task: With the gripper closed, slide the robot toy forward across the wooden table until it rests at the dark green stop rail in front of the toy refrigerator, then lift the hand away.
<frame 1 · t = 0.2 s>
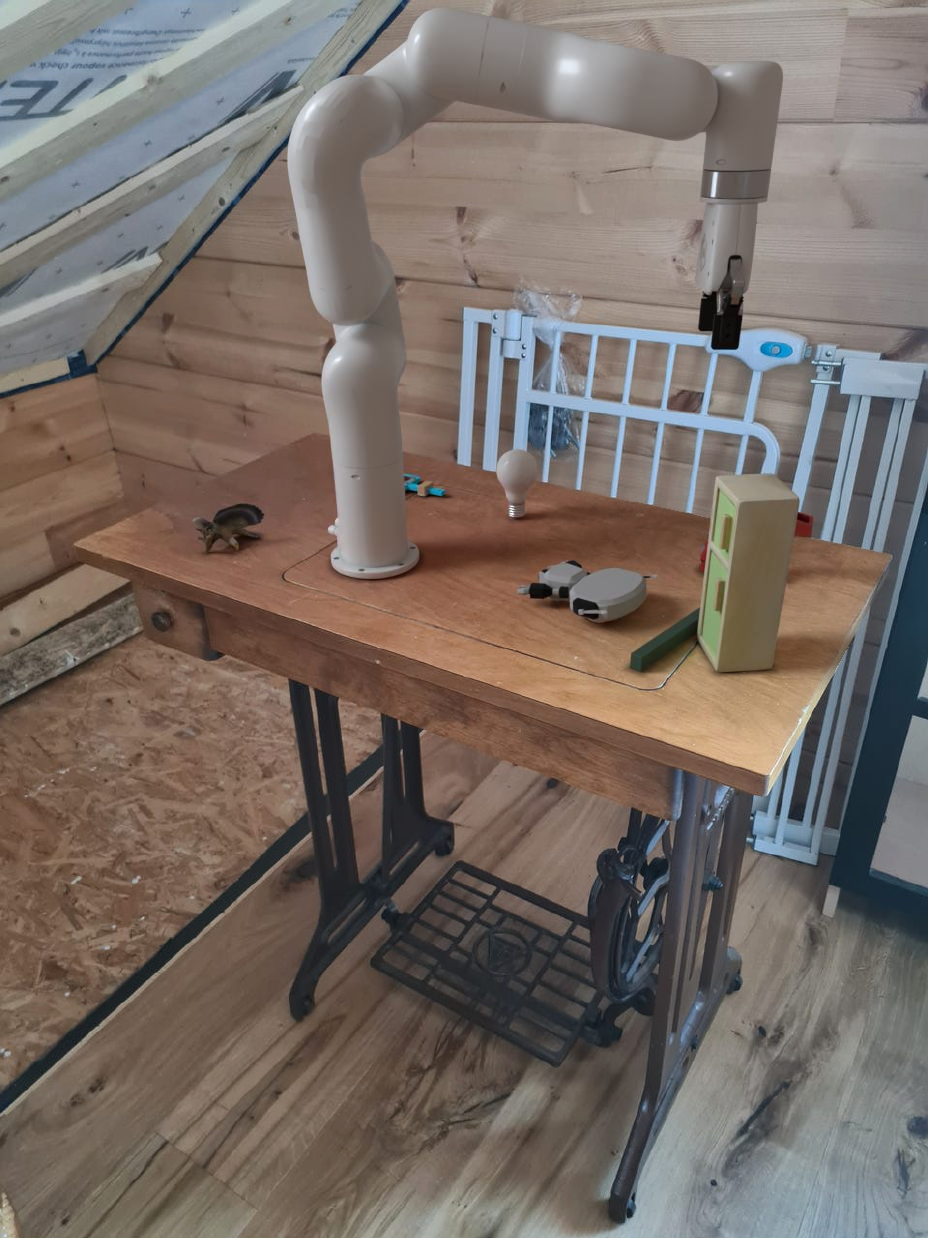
hand: (717, 339, 113), 31 cm above the table, tool pointing down, fingers open, 9 cm apart
toy refrigerator: (729, 655, 108), on the table
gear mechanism: (390, 489, 156), on the table
brown animal figure: (232, 546, 137), on the table
stop rail: (673, 643, 110), on the table
robot toy: (585, 606, 119), on the table
toy fire truck: (749, 577, 125), on the table
lightbulb: (516, 518, 144), on the table
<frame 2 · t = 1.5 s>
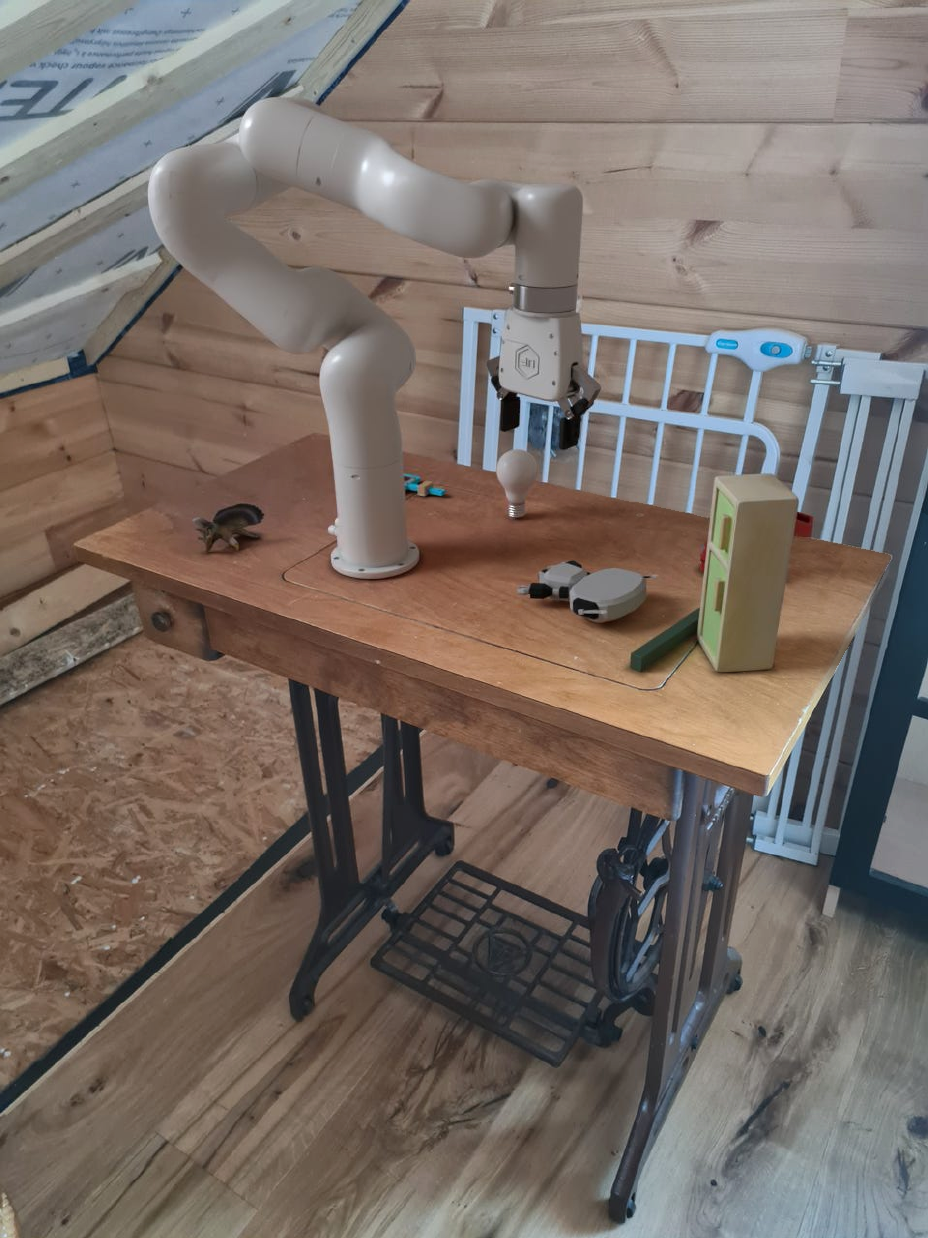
hand: (538, 437, 117), 20 cm above the table, tool pointing down, fingers open, 9 cm apart
nothing on the table moved.
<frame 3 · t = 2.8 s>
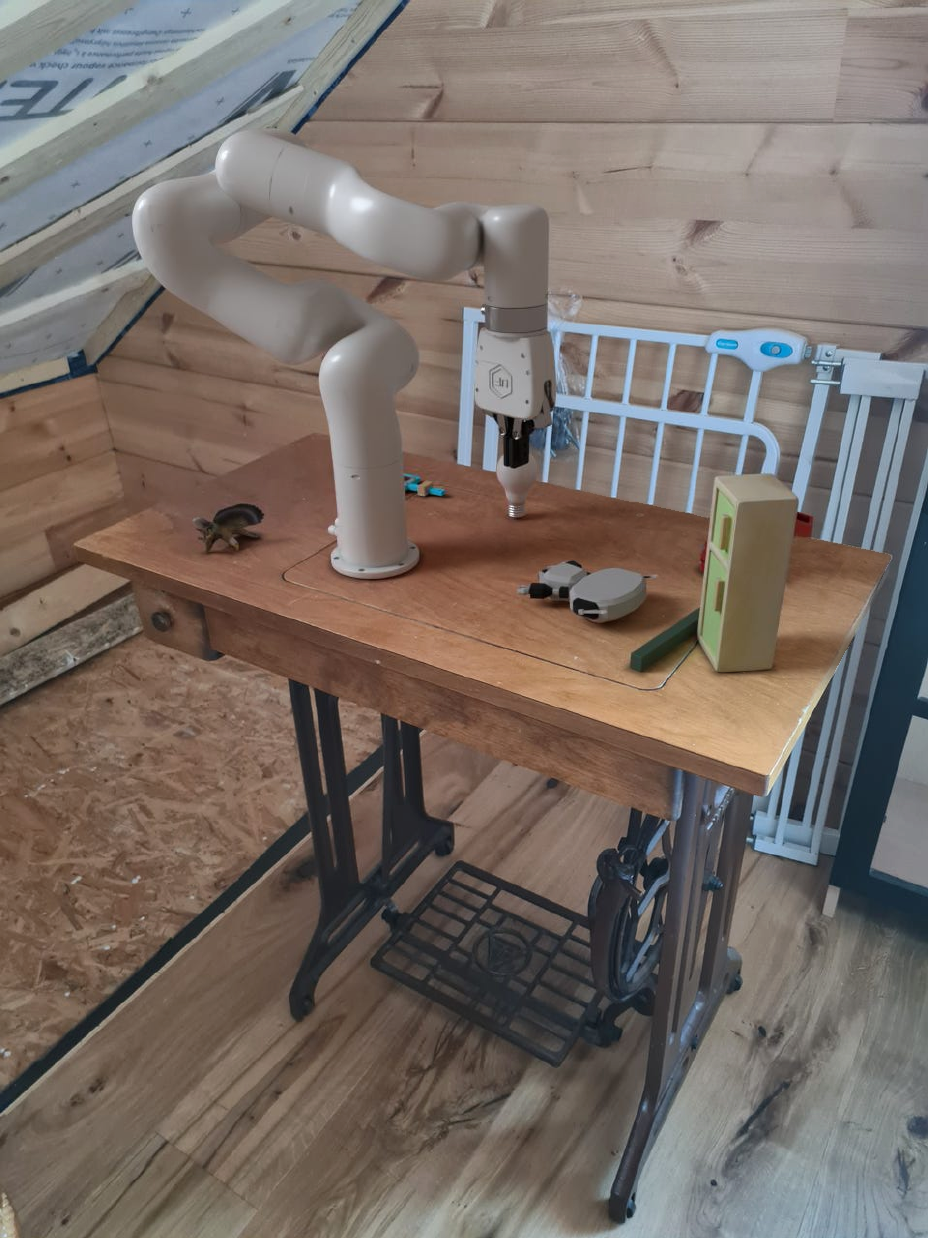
hand: (516, 464, 119), 16 cm above the table, tool pointing down, fingers closed
nothing on the table moved.
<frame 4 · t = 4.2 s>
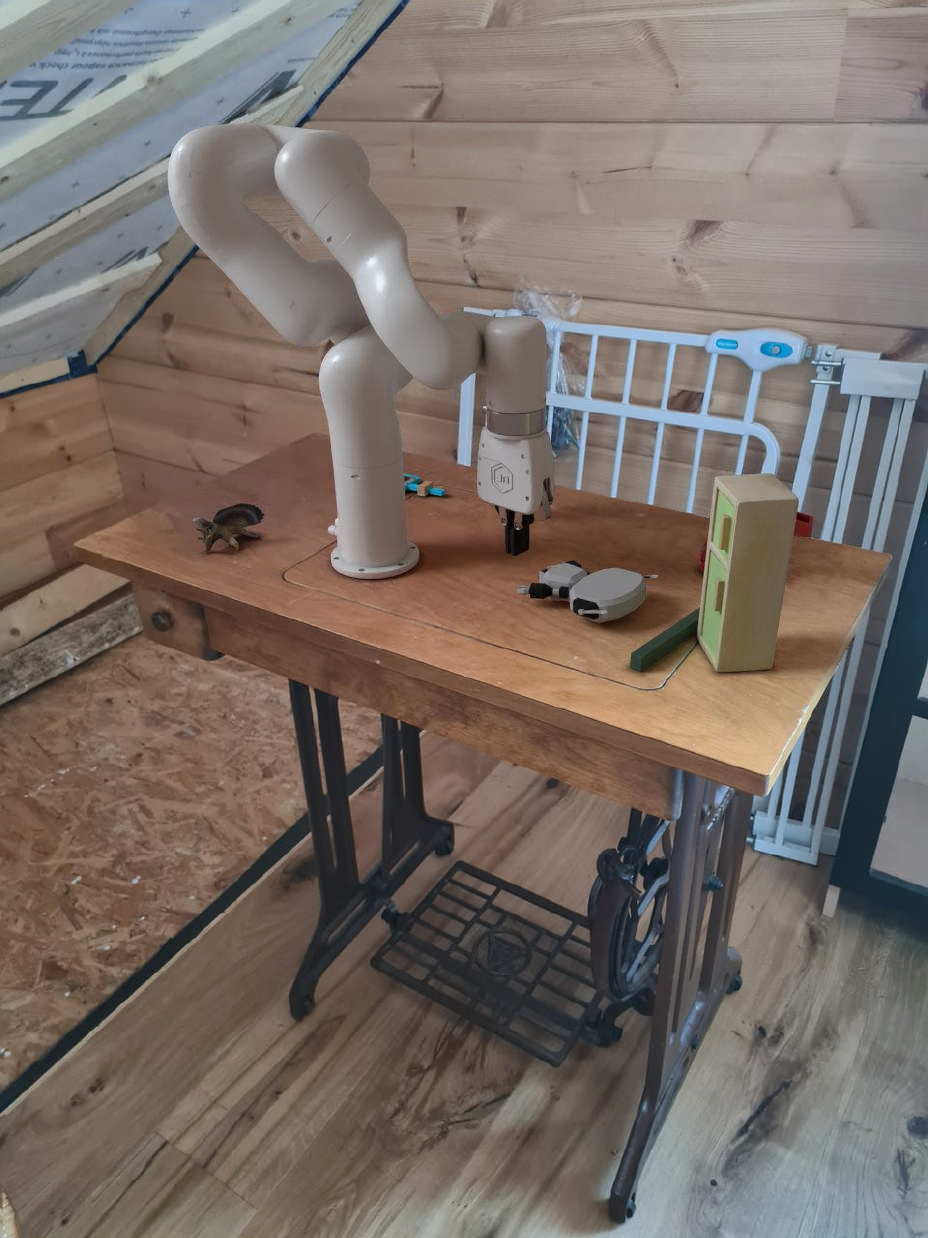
hand: (517, 551, 125), 4 cm above the table, tool pointing down, fingers closed
nothing on the table moved.
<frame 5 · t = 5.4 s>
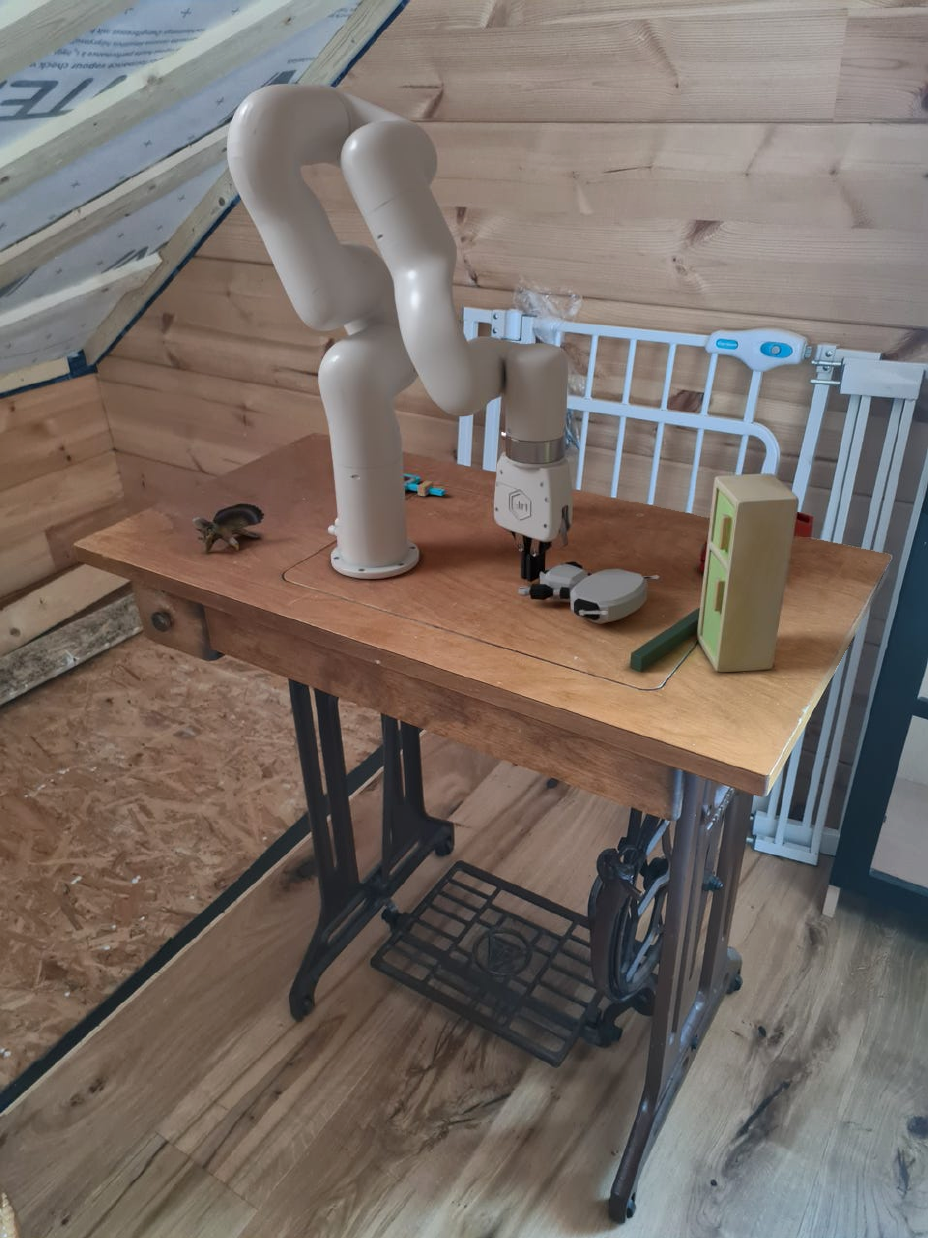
hand: (532, 576, 124), 1 cm above the table, tool pointing down, fingers closed
robot toy: (586, 607, 119), on the table, touching gripper
everything else where it was.
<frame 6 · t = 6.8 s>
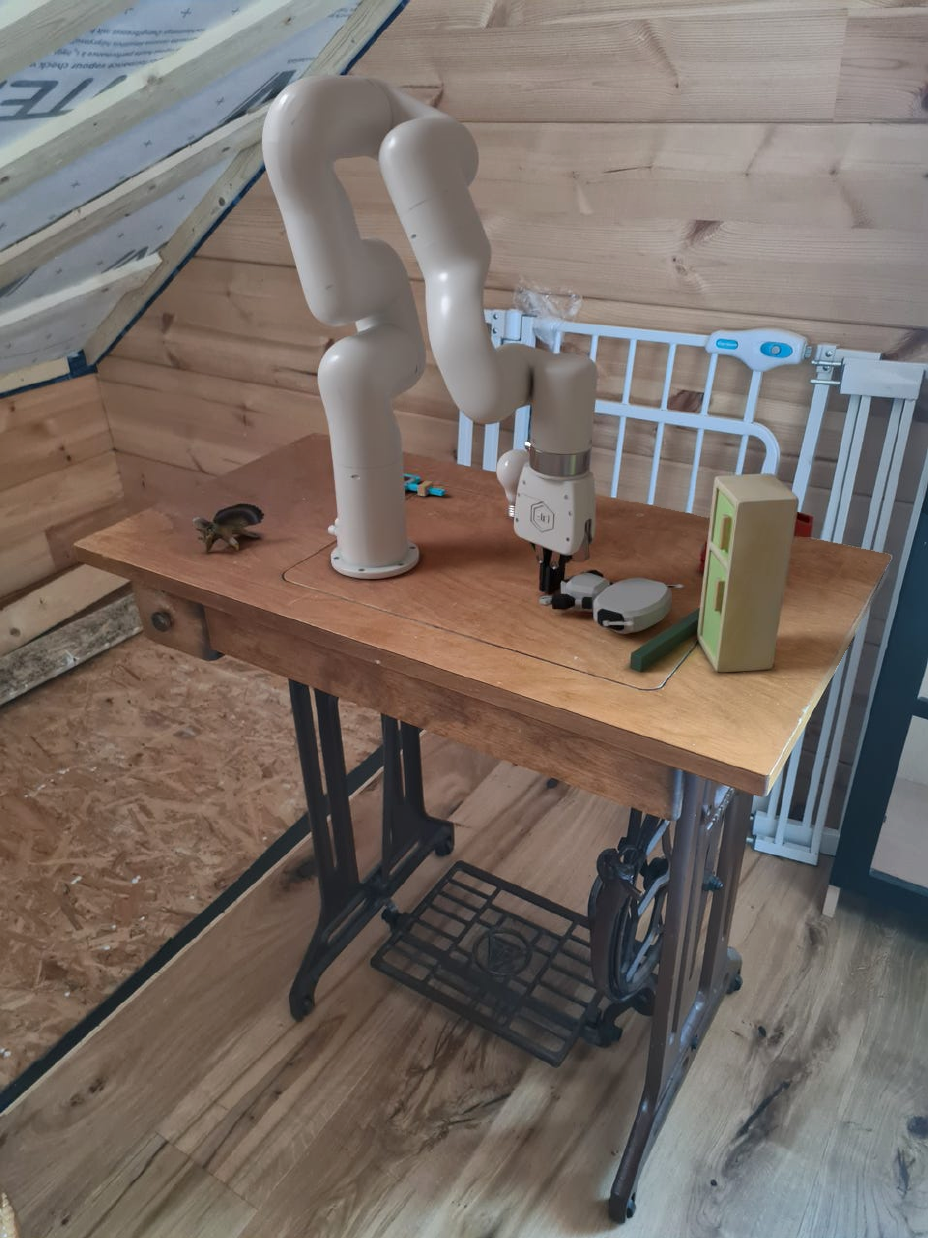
hand: (551, 589, 122), 1 cm above the table, tool pointing down, fingers closed
robot toy: (608, 617, 117), on the table, touching gripper
everything else where it was.
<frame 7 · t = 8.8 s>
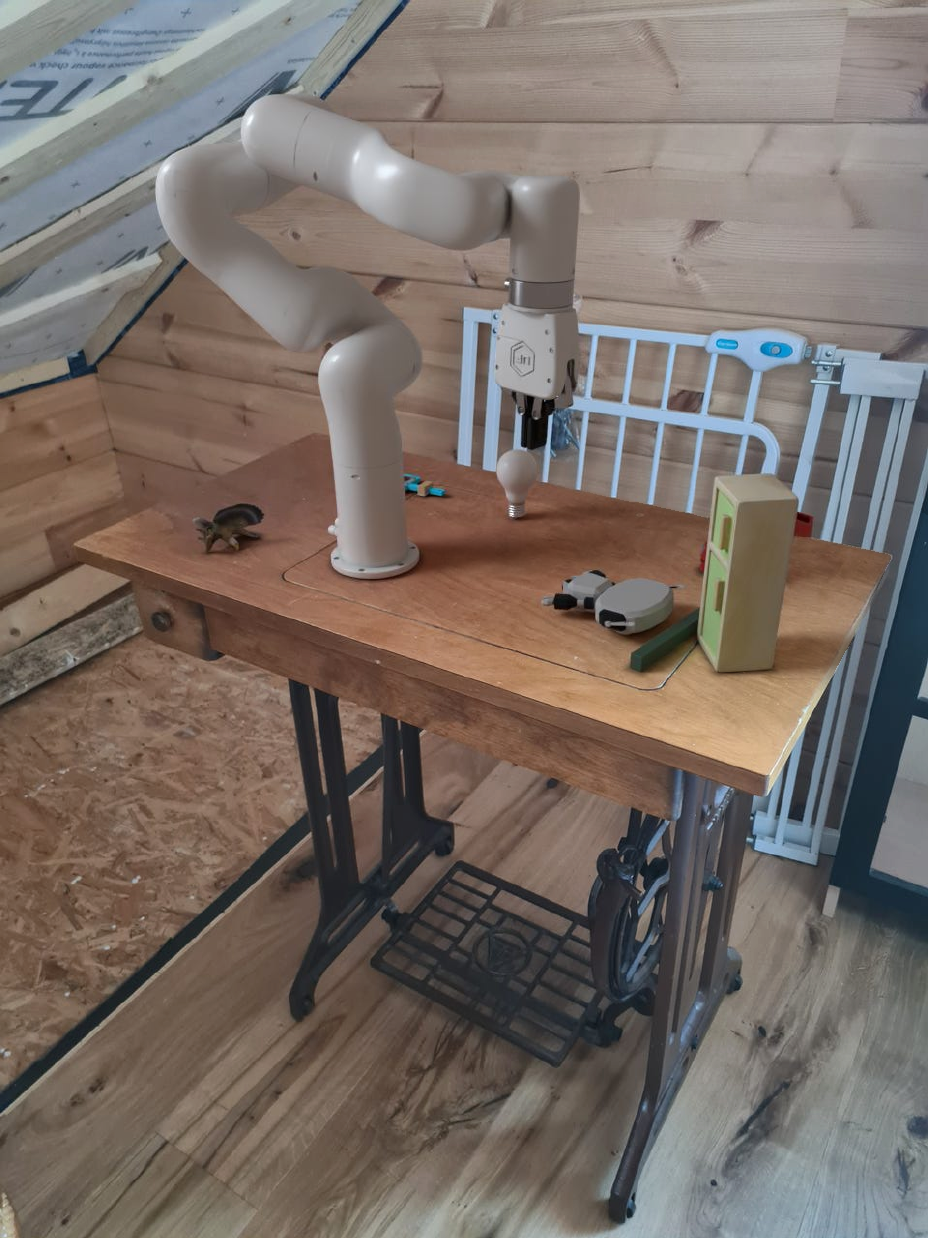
hand: (533, 445, 115), 19 cm above the table, tool pointing down, fingers closed
robot toy: (610, 617, 117), on the table
everything else where it was.
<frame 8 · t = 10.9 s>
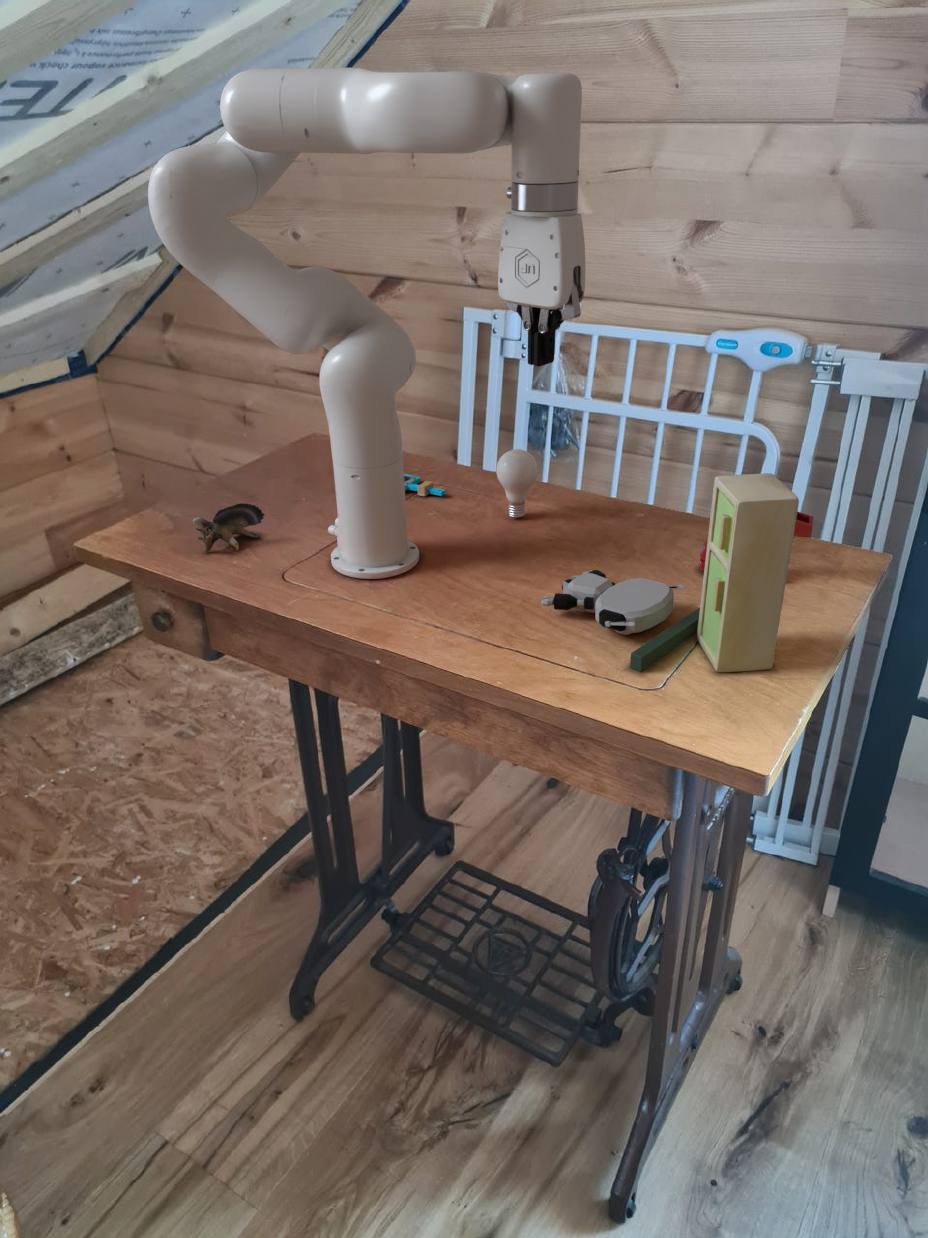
hand: (540, 362, 113), 29 cm above the table, tool pointing down, fingers closed
nothing on the table moved.
at the end: robot toy 0.4 cm from the target spot, on the table; robot toy tilted 0°; toy refrigerator moved 1.0 cm from its start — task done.
